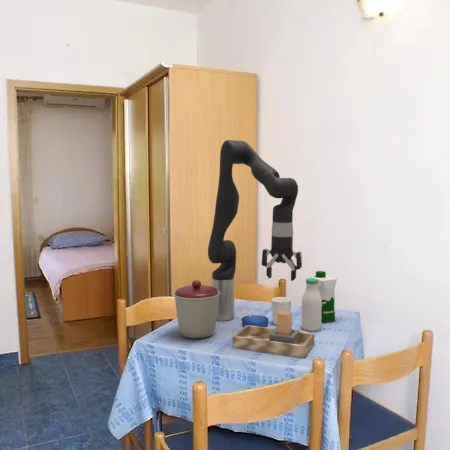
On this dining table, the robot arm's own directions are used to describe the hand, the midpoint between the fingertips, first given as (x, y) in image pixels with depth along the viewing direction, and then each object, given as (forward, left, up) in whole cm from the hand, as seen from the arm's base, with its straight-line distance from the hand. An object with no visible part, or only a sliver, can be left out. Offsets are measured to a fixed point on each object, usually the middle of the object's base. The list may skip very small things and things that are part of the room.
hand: (281, 279), depth 171 cm
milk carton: (+9, +33, -24) cm, 41 cm away
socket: (+3, -4, -24) cm, 24 cm away
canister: (-32, -3, -24) cm, 40 cm away
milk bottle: (+7, +20, -24) cm, 31 cm away
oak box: (-1, -4, -23) cm, 24 cm away
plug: (+3, -4, -23) cm, 23 cm away
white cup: (-6, +22, -24) cm, 33 cm away
